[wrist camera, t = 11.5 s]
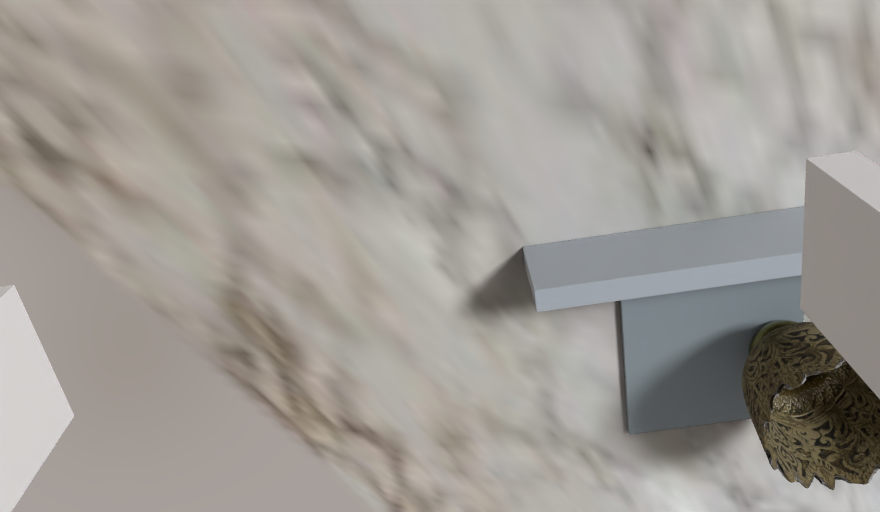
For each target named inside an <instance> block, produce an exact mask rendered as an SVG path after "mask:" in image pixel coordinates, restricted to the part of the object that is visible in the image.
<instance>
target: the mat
mask: <svg viewBox="0 0 880 512" xmlns="http://www.w3.org/2000/svg"><path fill="white" fill-rule="evenodd" d="M800 299H801V275H798V276H791V277H783V278H776V279H769V280H762V281H755V282H748V283H741V284H734V285H726V286H719V287H712V288H705V289H698V290H691V291H684V292H677V293H669V294H662V295H655V296H648V297H641V298H634V299H627V300H620V308H621V325H622V341H623V358H624V374H625V391H626V407H627V423H628V432H629V434H636V433H644V432H652V431H659V430H667V429H674V428H682V427H690V426H697V425H705V424H712V423H720V422H728V421H735V420H743V419H750V418H751V417H750V414H749V412H748V409H747V406H746V403H745V399H744V395H743V389H742V373H743V367H744V364H745V361H746V359H747V357H748V348H749V344H750V341H751V339H752V337H753V335H754V334H755V333H756V332H757V331H758V330H759V329H760V328H761V327H762V326H764V325H766V324H768V323H770V322H773V321H777V320H791V321H795V322H798V323H800V322H803V315H804V312H803V311H802V310H801V309H800Z"/></svg>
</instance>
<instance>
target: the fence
mask: <svg viewBox="0 0 880 512" xmlns="http://www.w3.org/2000/svg"><path fill="white" fill-rule="evenodd" d="M803 229H804V206H803V207H797V208H790V209H783V210H776V211H769V212H762V213H755V214H748V215H741V216H734V217H727V218H721V219H714V220H707V221H700V222H693V223H686V224H679V225H672V226H665V227H658V228H651V229H644V230H638V231H631V232H624V233H617V234H610V235H603V236H596V237H589V238H582V239H575V240H568V241H561V242H555V243H548V244H541V245H534V246H527V247H523V254H524V262H525V269H526V272H527V276H528V280H529V284H530V288H531V291H532V295H533V299H534V303H535V307H536V310H537V312H541V311H548V310H555V309H563V308H570V307H577V306H584V305H591V304H598V303H605V302H612V301H620V300H627V299H634V298H641V297H648V296H655V295H662V294H669V293H677V292H684V291H691V290H698V289H705V288H712V287H719V286H726V285H734V284H741V283H748V282H755V281H762V280H769V279H776V278H783V277H791V276H798V275H802V252H803Z"/></svg>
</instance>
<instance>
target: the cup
mask: <svg viewBox="0 0 880 512" xmlns="http://www.w3.org/2000/svg"><path fill="white" fill-rule="evenodd" d="M742 389H743V395H744V399H745V403H746V406H747V409H748V412H749V414H750V417H751V419H752V422H753V424H754V427H755V429H756V431H757V434H758V436H759V439H760V441H761V443H762V446H763V448H764V451H765V453H766V455H767V457H768V460H769V463H770V465H771V466H772V468H773V469H774V470H776V469H779V470H780V472H781V473H782V475H783V476H784V477H785V478H786V479H787V480H788V481H789V482H791V483H792V482H795V481H797V482H800V483H801V484H802V485H803V486H804V487H805V488H809V486H810V485H811V482H813V480H814V477H815V478H816V479H817V480H819V482H820V483H821V484H823V485H825V486H827V487H828V488H829V489H832V490H834V487H835V480H844V481H846V482H847V483H856V484H867V483H869V482H870V481H871V479H872V477H873V475H874V473H876V471H877V470H878V469H880V399H879V398H878V397H877V396H876V394H875V393H874V392H873V391H872V390H871V389H870V388H869V386H868V385H867V384H866V383H865V382H864V381H863V380H862V378H861V377H860V376H859V375H858V374H857V373H856V372H855V370H854V369H853V368H852V367H851V366H850V365H849V363H848V362H847V361H846V360H845V359H844V358H843V357H842V355H841V354H840V353H839V352H838V351H837V350H836V349H835V347H834V346H833V345H832V344H831V343H830V342H829V341H828V339H827V338H826V337H825V336H824V335H823V334H822V333H821V331H820V330H819V329H818V328H817V327H816V326H815V325H814V323H813V322H800V323H798V322H795V321H791V320H777V321H773V322H770V323H768V324H766V325H764V326H762V327H761V328H760V329H759V330H758V331H757V332H756V333H755V334H754V335H753V337H752V339H751V341H750V344H749V348H748V357H747V359H746V361H745V364H744V367H743V373H742Z"/></svg>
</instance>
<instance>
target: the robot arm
mask: <svg viewBox="0 0 880 512" xmlns="http://www.w3.org/2000/svg"><path fill="white" fill-rule="evenodd" d="M800 309H801V310H802V311H803V312H804V313H805V314H806V315H807V317H808V318H809V319H810V320H811V321H812V322H813V323H814V325H815V326H816V327H817V328H818V329H819V330H820V331H821V333H822V334H823V335H824V336H825V337H826V338H827V339H828V341H829V342H830V343H831V344H832V345H833V346H834V347H835V349H836V350H837V351H838V352H839V353H840V354H841V355H842V357H843V358H844V359H845V360H846V361H847V362H848V363H849V365H850V366H851V367H852V368H853V369H854V370H855V372H856V373H857V374H858V375H859V376H860V377H861V378H862V380H863V381H864V382H865V383H866V384H867V385H868V386H869V388H870V389H871V390H872V391H873V392H874V393H875V394H876V396H877V397H878V398H879V399H880V166H879V165H878V164H876V163H874V162H873V161H871V160H870V159H868V158H866V157H865V156H863V155H862V154H860V153H859V152H857V151H851V152H845V153H838V154H832V155H826V156H820V157H813V158H807V159H806V182H805V206H804V229H803V252H802V275H801V299H800ZM73 417H74V414H73V412H72V410H71V408H70V405H69V403H68V401H67V399H66V397H65V395H64V393H63V390H62V388H61V386H60V384H59V382H58V379H57V377H56V375H55V373H54V371H53V369H52V366H51V364H50V362H49V360H48V358H47V356H46V353H45V351H44V349H43V347H42V345H41V342H40V340H39V338H38V336H37V334H36V332H35V329H34V327H33V325H32V323H31V321H30V319H29V316H28V315H27V312H26V310H25V308H24V306H23V304H22V301H21V299H20V297H19V295H18V293H17V290H16V288H15V286H14V285H10V286H4V287H0V512H12V510H13V508H14V507H15V506H16V504H17V502H18V501H19V499H20V498H21V496H22V495H23V493H24V492H25V490H26V489H27V487H28V486H29V484H30V482H31V481H32V479H33V478H34V477H35V475H36V474H37V472H38V470H39V469H40V467H41V466H42V464H43V463H44V461H45V460H46V458H47V457H48V455H49V454H50V452H51V451H52V449H53V448H54V446H55V445H56V443H57V442H58V440H59V438H60V437H61V435H62V434H63V432H64V431H65V429H66V427H67V426H68V425H69V423H70V422H71V420H72V419H73Z"/></svg>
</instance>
